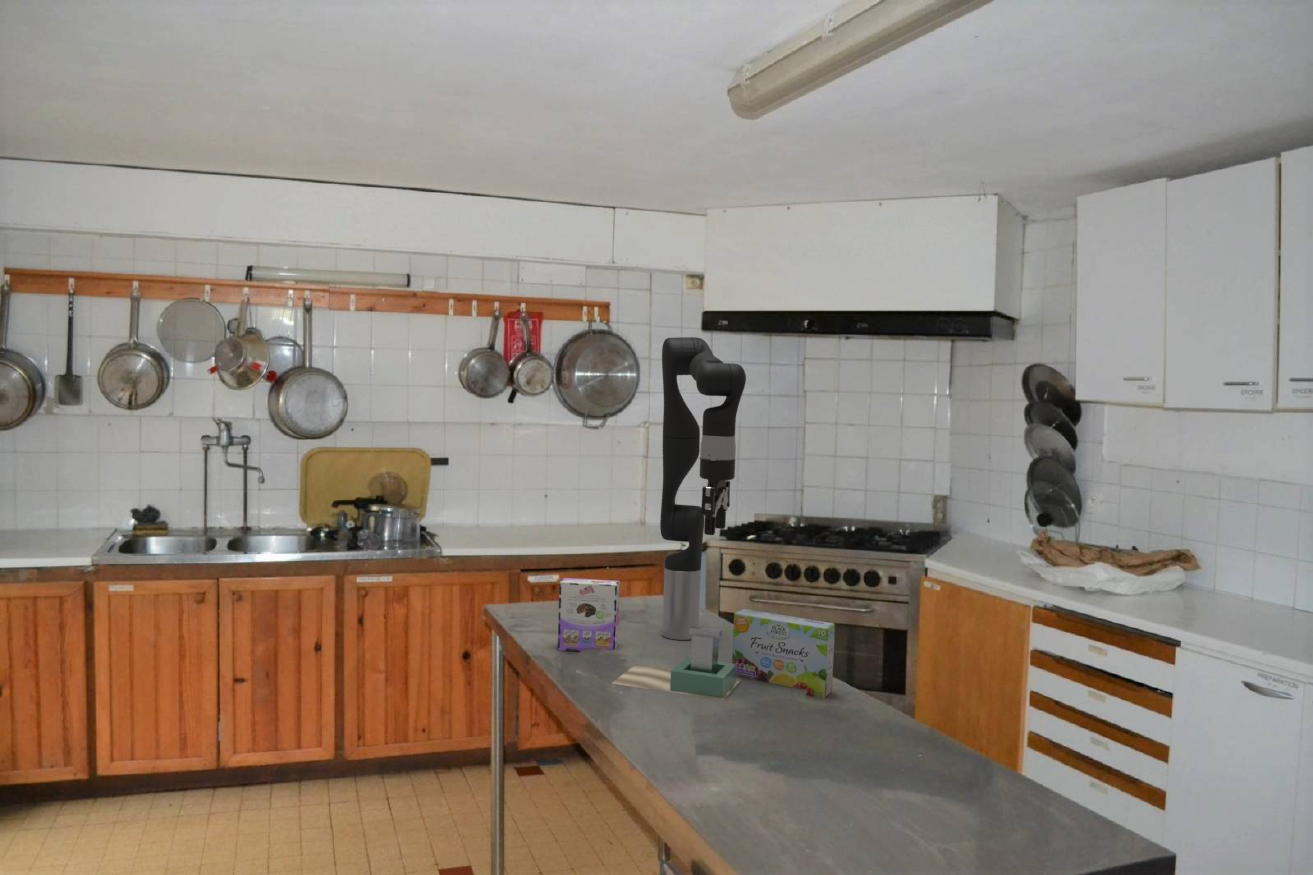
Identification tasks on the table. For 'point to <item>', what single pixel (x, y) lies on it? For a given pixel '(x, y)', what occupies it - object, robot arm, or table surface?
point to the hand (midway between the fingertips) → (714, 531)
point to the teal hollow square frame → (703, 679)
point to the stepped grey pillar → (704, 649)
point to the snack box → (784, 650)
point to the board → (654, 680)
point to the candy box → (588, 614)
